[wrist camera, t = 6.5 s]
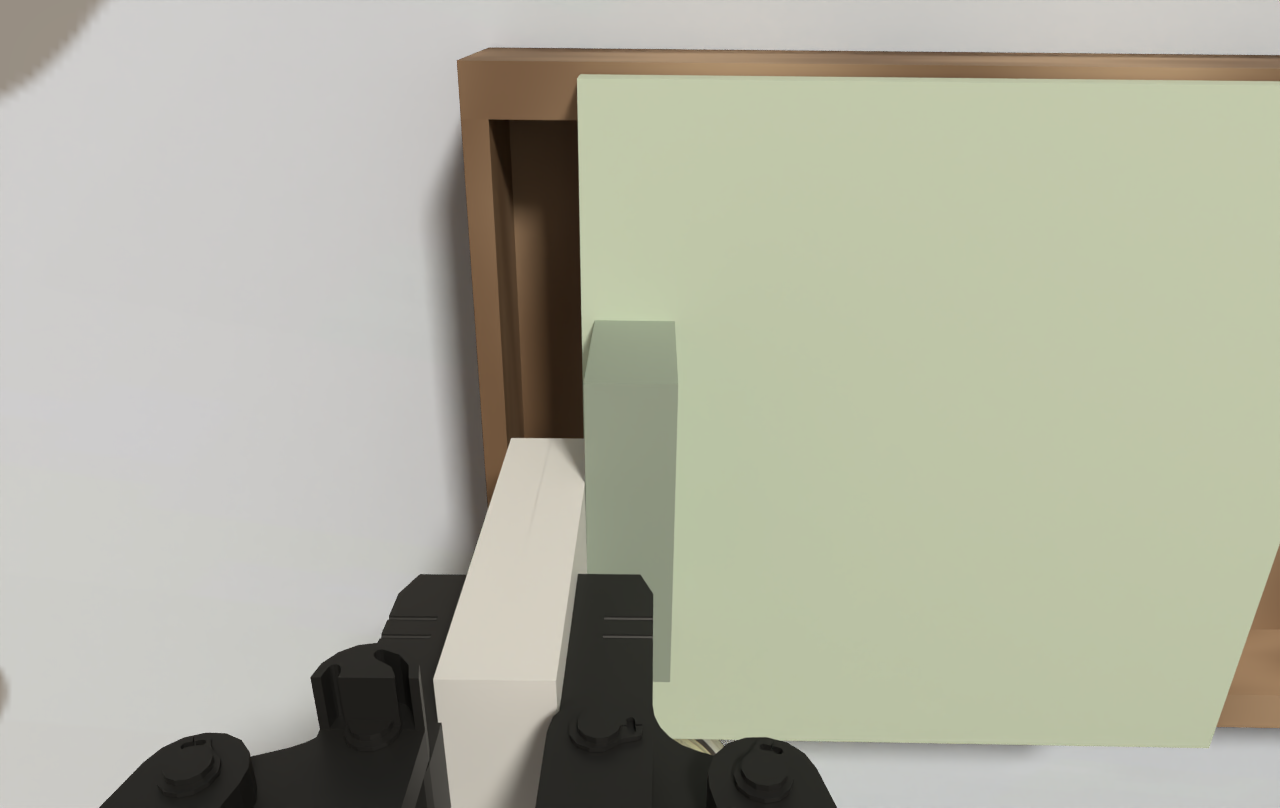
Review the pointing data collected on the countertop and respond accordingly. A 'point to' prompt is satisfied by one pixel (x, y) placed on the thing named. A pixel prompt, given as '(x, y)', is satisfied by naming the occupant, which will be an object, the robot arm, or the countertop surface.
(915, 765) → the countertop surface
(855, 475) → the lid
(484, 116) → the wooden tray
